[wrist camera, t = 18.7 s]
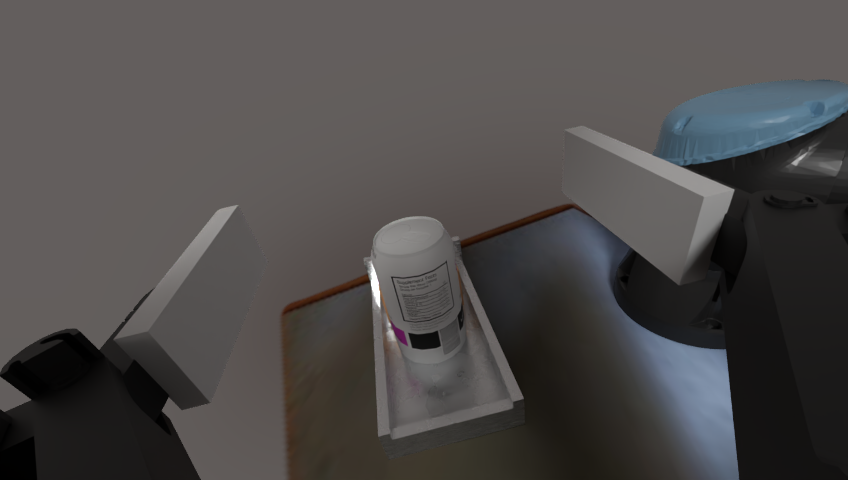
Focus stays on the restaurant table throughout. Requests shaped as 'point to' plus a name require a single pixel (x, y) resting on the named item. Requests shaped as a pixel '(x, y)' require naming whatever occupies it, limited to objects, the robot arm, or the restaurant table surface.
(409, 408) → the white drawer tray
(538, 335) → the restaurant table surface
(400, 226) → the supplement can
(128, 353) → the robot arm
